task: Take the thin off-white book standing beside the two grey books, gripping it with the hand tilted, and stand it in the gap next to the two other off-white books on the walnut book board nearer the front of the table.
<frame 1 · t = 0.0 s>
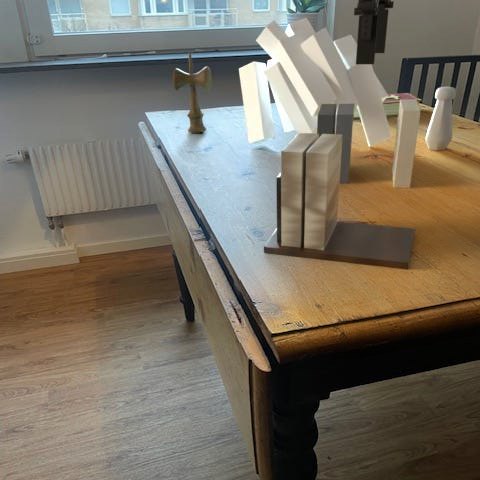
hand: (371, 58, 83), 23 cm above the table, tool pointing down, fingers open, 13 cm apart
hardcover book: (377, 113, 150), on the table
pile of blocks: (312, 141, 128), on the table
kendama: (197, 133, 141), on the table
white book: (400, 179, 100), on the table
book board: (340, 243, 77), on the table
salt shaker: (436, 148, 117), on the table
grey books: (333, 175, 104), on the table
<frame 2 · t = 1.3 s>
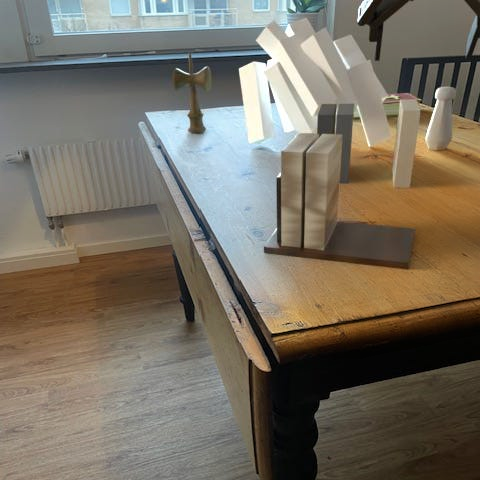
hand: (422, 52, 79), 24 cm above the table, tool tilted 45°, fingers open, 13 cm apart
nothing on the table moved.
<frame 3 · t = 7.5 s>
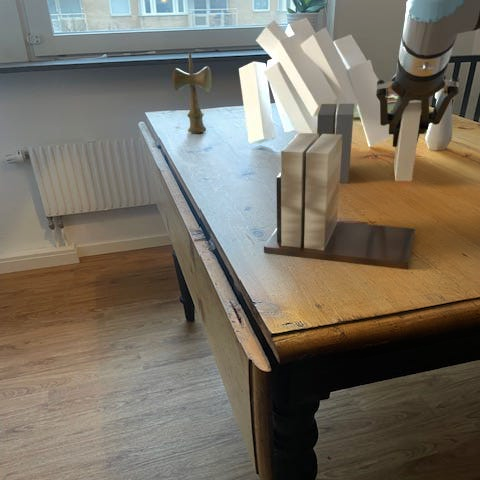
hand: (404, 140, 99), 7 cm above the table, tool tilted 45°, fingers closed on white book, 3 cm apart
white book: (402, 172, 99), point 1 cm above the table, touching gripper
everything else where it was.
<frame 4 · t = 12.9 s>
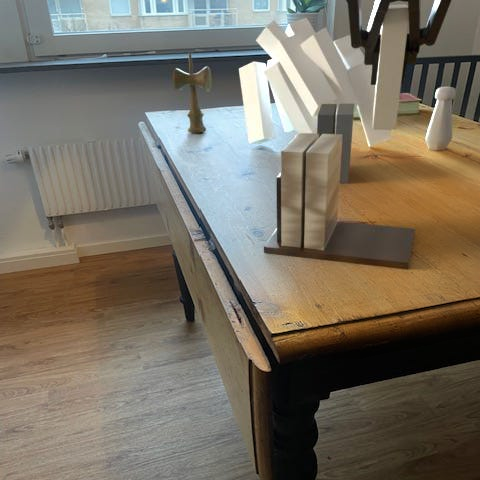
hand: (387, 76, 72), 22 cm above the table, tool tilted 45°, fingers closed on white book, 3 cm apart
white book: (383, 121, 72), point 17 cm above the table, touching gripper
everything else where it was.
when the fingers open (6 cm above the table, at t = 18.3 s): white book stays where it is, resting on book board.
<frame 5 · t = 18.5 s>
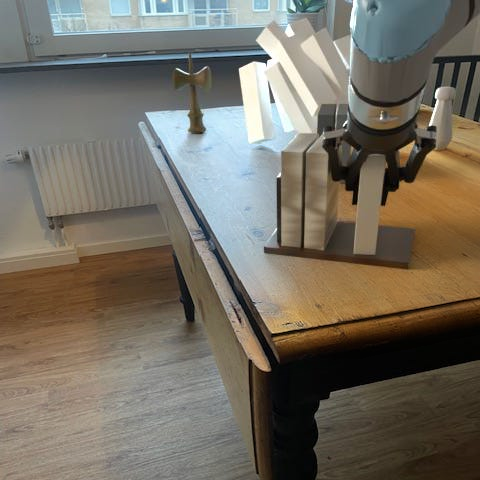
hand: (369, 197, 76), 6 cm above the table, tool tilted 45°, fingers open, 3 cm apart
white book: (364, 239, 76), point 1 cm above the table, touching book board, gripper
everything else where it was.
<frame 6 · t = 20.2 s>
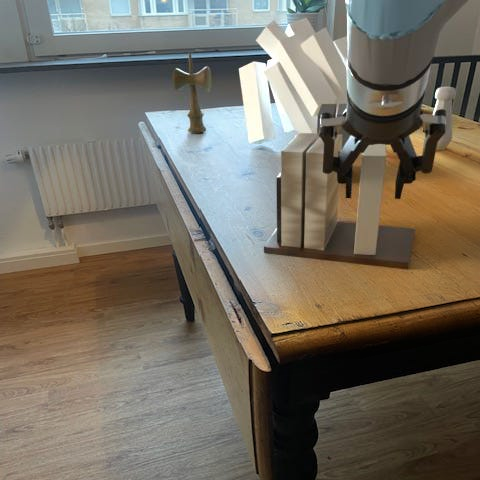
hand: (373, 189, 71), 9 cm above the table, tool tilted 45°, fingers open, 6 cm apart
white book: (365, 240, 75), point 1 cm above the table, touching book board
everything else where it was.
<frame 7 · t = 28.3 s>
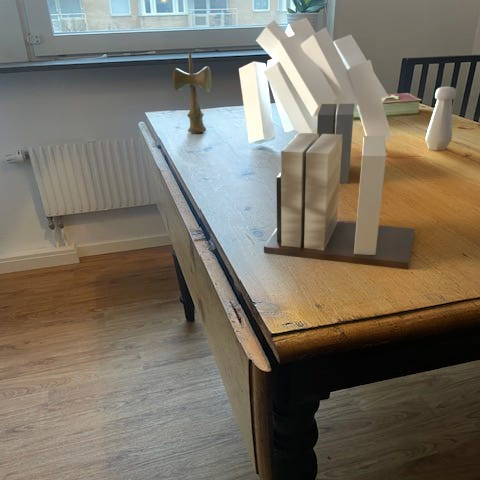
nothing on the table moved.
at the end: white book 0.2 cm from the target spot on the book board, point 1.0 cm above the book board's base; white book tilted 0°; the gripper is holding nothing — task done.
